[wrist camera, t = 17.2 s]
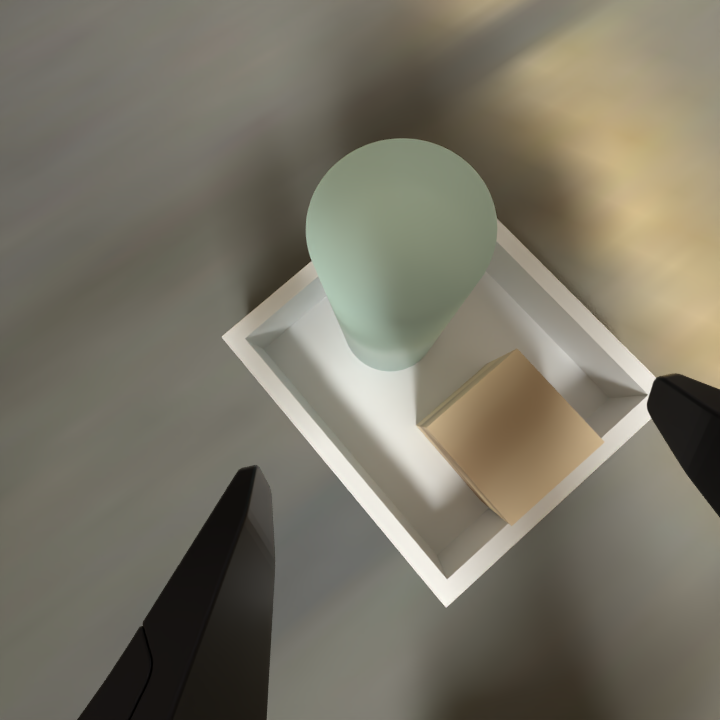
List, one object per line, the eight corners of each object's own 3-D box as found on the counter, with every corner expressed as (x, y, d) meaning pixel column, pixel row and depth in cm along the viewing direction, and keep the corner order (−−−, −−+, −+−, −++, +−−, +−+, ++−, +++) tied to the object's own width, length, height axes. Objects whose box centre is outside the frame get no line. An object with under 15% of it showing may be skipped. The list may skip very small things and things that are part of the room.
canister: (449, 353, 23) (527, 280, 11) (361, 384, 23) (341, 346, 11) (416, 268, 23) (455, 112, 11) (331, 299, 23) (281, 174, 11)
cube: (553, 436, 22) (604, 442, 17) (481, 501, 21) (511, 526, 16) (486, 363, 22) (517, 348, 17) (415, 425, 22) (426, 427, 17)
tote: (623, 400, 23) (674, 396, 19) (433, 573, 22) (446, 607, 18) (426, 198, 25) (435, 156, 21) (247, 350, 24) (221, 336, 20)
